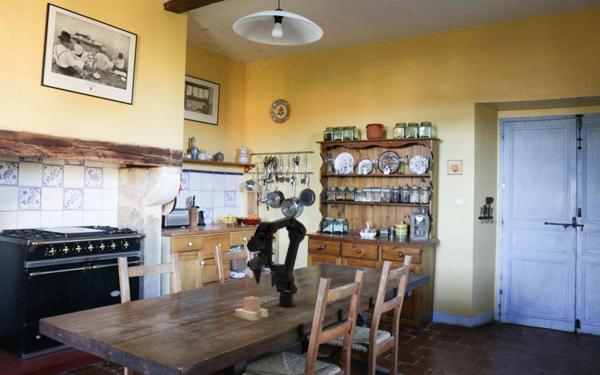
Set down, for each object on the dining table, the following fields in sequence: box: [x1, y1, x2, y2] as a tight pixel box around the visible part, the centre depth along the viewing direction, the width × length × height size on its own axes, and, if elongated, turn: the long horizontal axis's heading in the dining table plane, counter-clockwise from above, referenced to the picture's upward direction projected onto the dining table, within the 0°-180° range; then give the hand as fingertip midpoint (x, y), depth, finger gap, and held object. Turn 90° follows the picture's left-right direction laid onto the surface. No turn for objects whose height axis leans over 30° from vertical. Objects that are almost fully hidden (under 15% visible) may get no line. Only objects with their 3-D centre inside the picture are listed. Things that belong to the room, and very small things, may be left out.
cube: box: [243, 295, 261, 312], centre depth 206 cm, size 5×5×5 cm
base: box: [234, 307, 269, 322], centre depth 206 cm, size 10×10×3 cm
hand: (265, 285), depth 214 cm, fingers open, 9 cm apart
